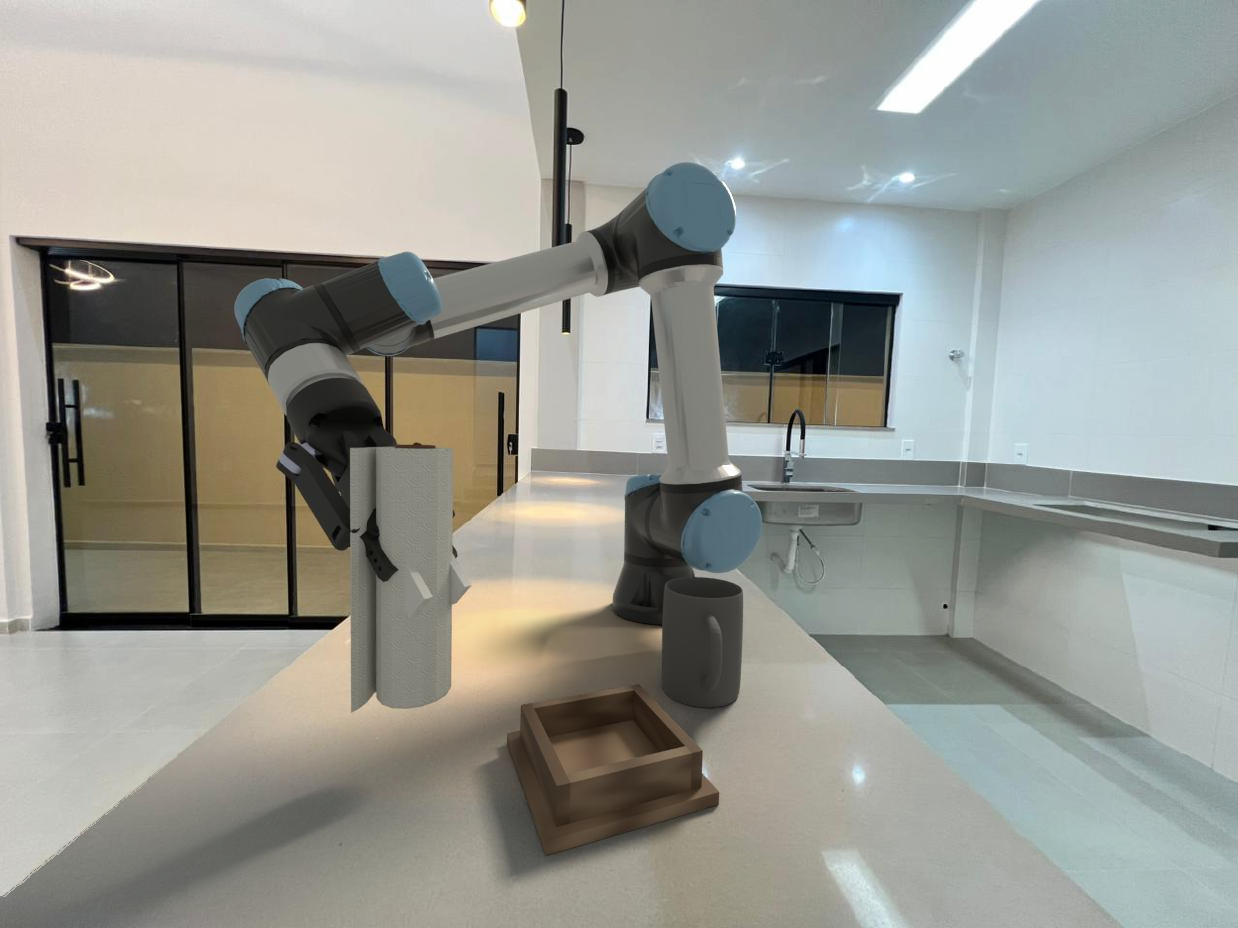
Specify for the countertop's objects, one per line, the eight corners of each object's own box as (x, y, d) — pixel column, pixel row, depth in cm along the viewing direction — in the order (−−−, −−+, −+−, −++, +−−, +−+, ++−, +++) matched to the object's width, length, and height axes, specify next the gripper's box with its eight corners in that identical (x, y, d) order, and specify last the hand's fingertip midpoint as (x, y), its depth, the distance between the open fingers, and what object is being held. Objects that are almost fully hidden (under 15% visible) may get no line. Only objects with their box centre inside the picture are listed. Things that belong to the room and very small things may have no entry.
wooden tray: (642, 715, 54) (643, 678, 54) (718, 804, 41) (720, 754, 41) (507, 743, 48) (507, 701, 48) (545, 855, 35) (546, 798, 35)
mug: (657, 670, 65) (660, 575, 64) (730, 672, 65) (734, 577, 64) (668, 731, 51) (671, 611, 50) (760, 734, 51) (765, 613, 50)
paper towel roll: (456, 674, 48) (458, 445, 47) (445, 709, 42) (447, 446, 41) (373, 679, 47) (373, 443, 46) (350, 715, 41) (349, 444, 40)
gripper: (387, 431, 59) (491, 601, 51) (216, 428, 45) (323, 660, 37) (417, 382, 56) (533, 555, 48) (243, 362, 42) (366, 601, 34)
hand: (441, 600), depth 42 cm, fingers closed on paper towel roll, 3 cm apart
